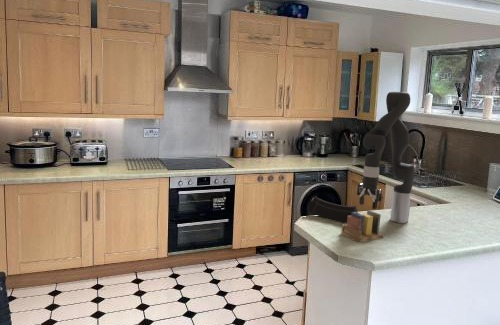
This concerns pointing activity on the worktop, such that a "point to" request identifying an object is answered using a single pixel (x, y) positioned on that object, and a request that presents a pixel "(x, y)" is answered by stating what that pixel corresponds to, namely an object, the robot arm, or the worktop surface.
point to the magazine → (330, 210)
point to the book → (367, 224)
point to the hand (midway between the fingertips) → (367, 206)
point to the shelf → (358, 234)
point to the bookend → (375, 221)
